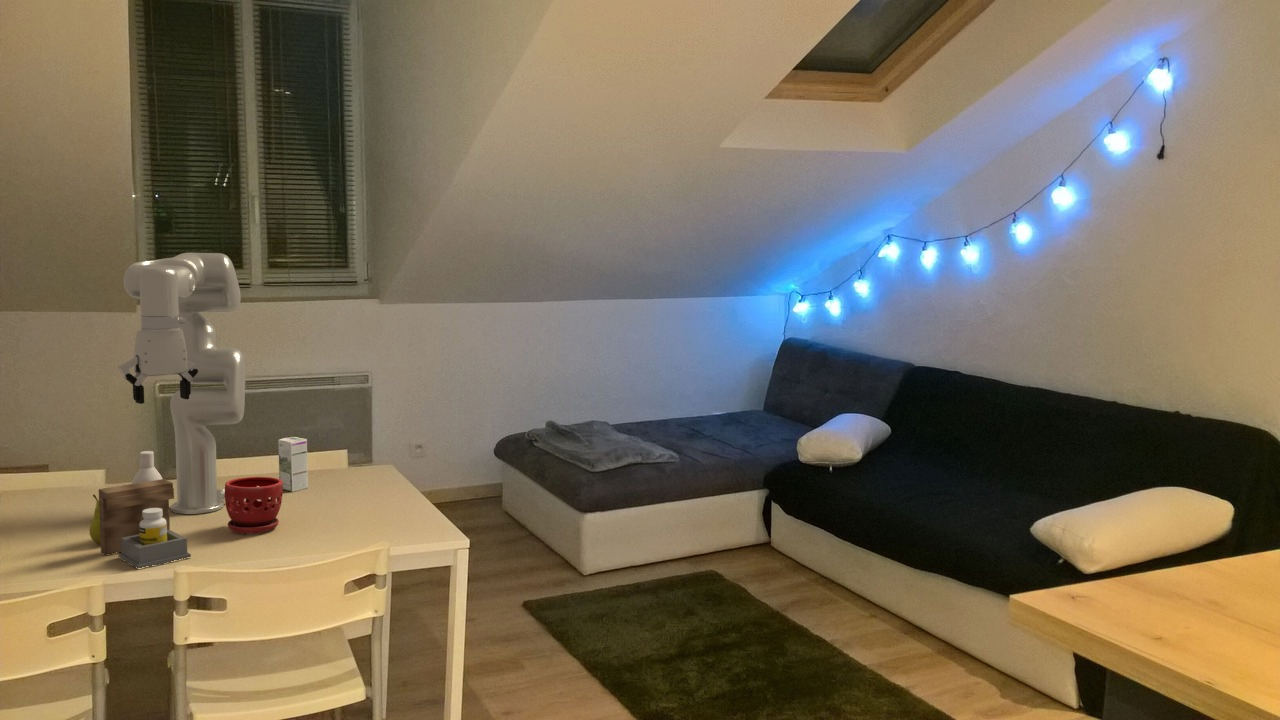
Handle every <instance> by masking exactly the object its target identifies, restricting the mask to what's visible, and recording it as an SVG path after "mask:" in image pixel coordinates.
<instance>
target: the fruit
mask: <svg viewBox="0 0 1280 720" xmlns="http://www.w3.org/2000/svg"><path fill="white" fill-rule="evenodd" d="M92 497H93V498H94V499H95V501H96V504H95V509H94V513H93V515H94V516H93V520H92V522H91V524H90V526H89V532H88V533H89V536H90V538H91V540H92V541H93V542H94V543H96V544H97V545H101V539H100V514H99V498H97V496H96V495H95V494H93V495H92Z"/></svg>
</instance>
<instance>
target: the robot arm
mask: <svg viewBox="0 0 1280 720" xmlns="http://www.w3.org/2000/svg"><path fill="white" fill-rule="evenodd" d="M233 264H234V263H233V261H232V260H231V259H230V257H229V256H228V255H226V254H225V253H220V252H183V253H179V254H178V255H175V256H173V257H165V258H159V259H152V260H143V261H137V262H135V263H132V264H130V265H129V266H128V267H127V269H126V270H125V272H124V275H123V286H124V290H125V292H126V293H127V295H129V297H131V298H133V299H139V301H140V302H139V304H140V328H141V329H137V330H136V334H135V338H134V346H133V347H134V348H133V358H131V359H129V360H127V361H126V362H124V363H121V364H120V365H119V366H118V369H119V371H120V372H121V374H122V376H123V378H124V379H125V380H127V381H128V382H129V383H130V384H131V385H132V398H133V400H134V401H135V403H136V404H139V405H143V404H145V387H144V385H143V384H142V383H144V381H145V380H146V378H147V377H157V376H159V377H160V376H170V375H173V376H174V375H178V376H179V377H180V381H179V390H177V391H175V393H173V395H172V396H171V398H170V402H169V403H170V404H169V405H170V412H171V418H172V423H173V430H174V438H175V439H174V442H175V465H176V466H175V467H176V468H175V469H176V499H177V500H176V501H175V502H174V503H171V505H170V511H172V512H173V513H175V514H181V515H196V514H197V515H198V514H207V513H212V512H216V511H219V510H221V509H223V508H224V506H225V505H224V504H225V501H224V500H225V488H222V489H220V488H218V476H217V472H218V471H217V469H218V468H217V443H216V442H217V441H216V439H215V437H214V435H213V433H212V432H211V431H210V430H209V429H208V428H207V426H210V425H211V426H214V425H215V426H216V425H236V424H239V423H240V422H241V421H242V420H243V418H244V414H245V405H246V404H245V402H246V399H245V398H246V397H245V396H246V360H245V356H244V354H243V352H242V351H241V350H239V349H238V348H235V347H234V348H233V347H217V346H216V345H217V344H216V343H217V342H216V341H217V340H216V339H217V332H216V331H217V330H216V328H215V327H214V325H213V324H212V323H211V321H210V320H209V319H208V318H207V317H206V316H204V315H203V314H202V313H231V312H235V311H236V310H237V309H238V308H239V307H240V306H241V301H242V299H241V298H242V297H241V288H240V285H239V280H238V278H237V273H236V270H235V266H234V265H233ZM132 367H133V372H134V373H135V374H134V375H133V374H131V372H130V369H131V368H132ZM191 385H225V387H191Z"/></svg>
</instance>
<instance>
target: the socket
mask: <svg viewBox="0 0 1280 720" xmlns="http://www.w3.org/2000/svg"><path fill="white" fill-rule="evenodd" d="M117 557H120V558H121V559H123V560H125V561H127V562H128V563H130V564H132V565H133V566H135V567H137V568H142V567H146V566H152V565H158V566H160V565H159V564H162V565H165V564H164V563H167V562H171V561H174V560H179V559H182V558H183V559H184V558H187V557H192V555H191V553H190V552H189V551H188V538H187V537H185V536H182V535H181V534H179V533H177V532H175V531H172V530H171V529H170V530H169V529H167V541H164V542H159V543H154V544H149V545H144V546H142V545H141V544H140V534H139V535H133V536H128V537H123V538H121V553H117ZM120 558H119V559H120ZM121 559H120V560H121ZM123 560H122V561H123ZM125 561H124V562H125ZM128 563H127V564H128ZM130 564H129V565H130ZM167 564H168V563H167ZM133 566H132V567H133ZM135 567H134V568H135Z"/></svg>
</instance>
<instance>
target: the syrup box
mask: <svg viewBox="0 0 1280 720" xmlns="http://www.w3.org/2000/svg"><path fill="white" fill-rule="evenodd" d="M277 441H278V472H279V473H278V475H279V476H278V479H280V480H282V482H283V491H287V492H290V493H291V492H292V493H294V492H298V491H299V490H300V491H303V489H304V490H307V489H309V481H308V479H309V478H308V477H309V476H308V475H309V473H308V439H307V438H301V437H297V436H289V437H283V438H280V439H278V440H277Z"/></svg>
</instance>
